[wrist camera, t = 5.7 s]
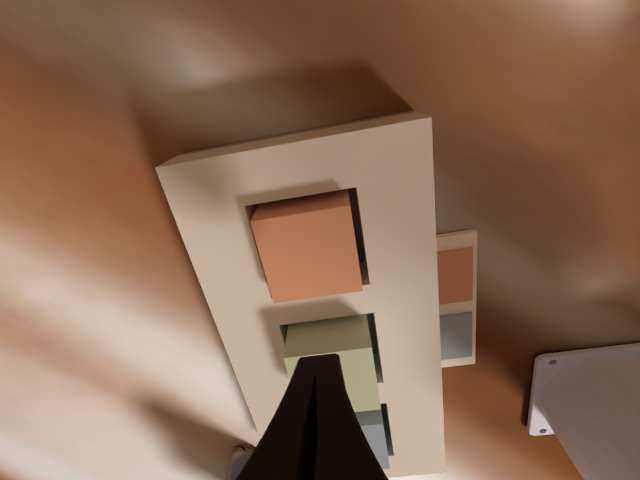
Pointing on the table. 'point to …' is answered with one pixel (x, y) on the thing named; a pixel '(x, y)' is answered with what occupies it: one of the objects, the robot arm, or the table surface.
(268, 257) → the terracotta key
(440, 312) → the tile
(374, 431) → the slate key
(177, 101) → the table surface
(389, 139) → the keypad base
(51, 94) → the table surface
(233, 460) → the flask
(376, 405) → the sage key
